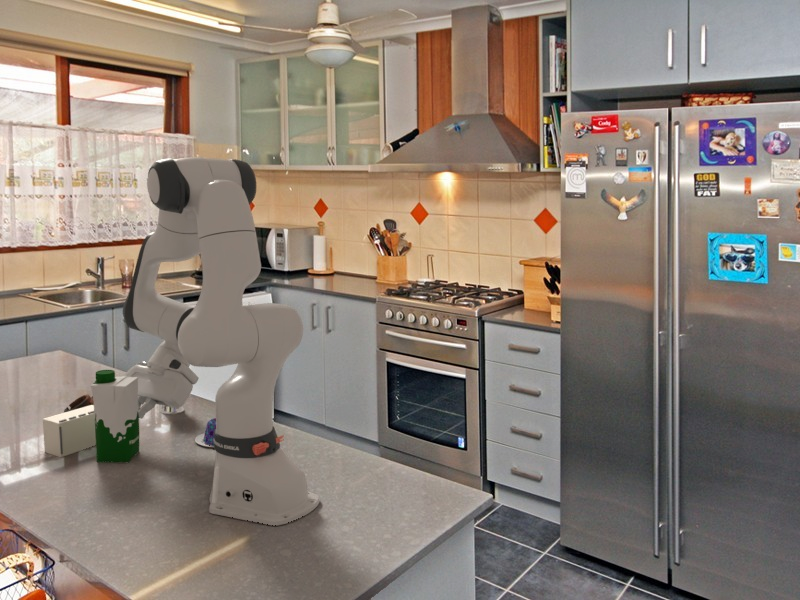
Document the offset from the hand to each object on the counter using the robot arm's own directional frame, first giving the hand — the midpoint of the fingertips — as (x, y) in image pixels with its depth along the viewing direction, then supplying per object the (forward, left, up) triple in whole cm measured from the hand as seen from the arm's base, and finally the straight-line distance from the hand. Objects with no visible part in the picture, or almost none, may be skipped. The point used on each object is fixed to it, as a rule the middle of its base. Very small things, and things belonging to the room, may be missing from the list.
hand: (135, 416), depth 173 cm
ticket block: (+13, +6, -8) cm, 17 cm away
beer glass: (+16, -25, -9) cm, 31 cm away
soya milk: (0, +5, -8) cm, 10 cm away
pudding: (-11, -16, -9) cm, 21 cm away
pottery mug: (+27, -7, -9) cm, 29 cm away
